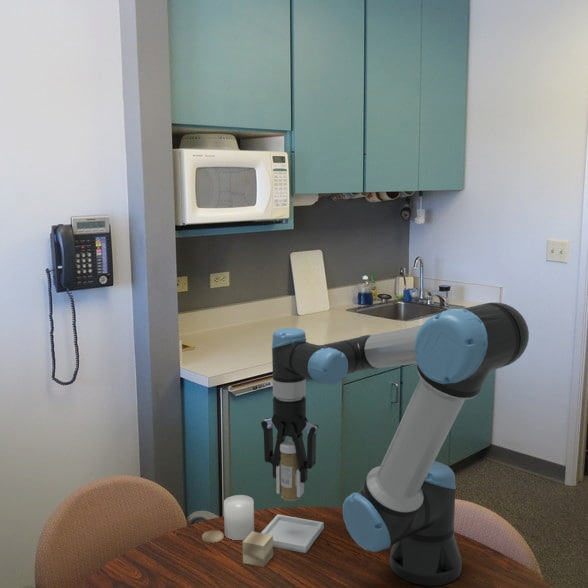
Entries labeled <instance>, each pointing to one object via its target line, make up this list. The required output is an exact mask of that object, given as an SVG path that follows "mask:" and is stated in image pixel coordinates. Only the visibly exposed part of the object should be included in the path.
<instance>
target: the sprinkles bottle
mask: <svg viewBox="0 0 588 588" xmlns="http://www.w3.org/2000/svg"><path fill="white" fill-rule="evenodd" d="M280 451H281V452H280V453H281V461H280V463H281V493H280V497H281V498H280V499H282V500H283V501H288V502H293V501H297V500H299V499H300V497H297V474H296V470H297V469H298V468H299V463H298V458H297V454H296V449H295V445H294V442H293V440H292V439H285V441H283V442H282V443H281V444H280Z"/></svg>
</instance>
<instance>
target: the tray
mask: <svg viewBox="0 0 588 588" xmlns="http://www.w3.org/2000/svg"><path fill="white" fill-rule="evenodd" d="M324 523H325V522H322V521H318V520H313V519H308V518H307V519H305V518H300V517H295V516H289V515H284V514H278V513H277V514H276V516H274V518H273V519H272V520H270V522H269V524H267V525H266V526H265V528H263V530H262V531H261V532H260V533H264V534H269V535H273V548H277V549H283V550H287V551H292V552H296V553H298V552H299V553H301V554H302V553H304V554H307V553H308V552H309V550H310V548H311V547H312V546H313V544H314V543H315V542H316V540H317V539H318V537H319V536H320V535H321V533H322V532H323V530H324V526H325V525H324Z"/></svg>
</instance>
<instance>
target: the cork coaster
mask: <svg viewBox="0 0 588 588" xmlns="http://www.w3.org/2000/svg"><path fill="white" fill-rule="evenodd" d="M224 536H225V534H224V532H222V531H220V530H216V529H215V530H208V531H206V532H203V534H202V535H201V539H202V541H203V542H204V543H208V544H215V542H216V543H218V542H221V541H222V540H224Z"/></svg>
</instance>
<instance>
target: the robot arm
mask: <svg viewBox="0 0 588 588" xmlns="http://www.w3.org/2000/svg"><path fill="white" fill-rule="evenodd" d="M306 336H307V335H306V332H305V331H304V330H303V329H301V328H297V327H295V328H293V327H286V328H279V329H277V330H275V331H274V332H273V334H272V342H271V343H272V344H271V345H272V346H271V359H272V360H271V361H272V362H271V363H272V364H271V365H272V366H271V367H272V396H273V398H272V413H273V414H272V417H271V418H268V417H267V418H265V419H263V420H262V421H261V423H260V425H261V428H262V431H263V448H264V449H263V450H264V461H265V462H266V463H269V464H271V467H272V478H273V479H275V480H276V485H275V486H276V490H275V491H276V492H275V493H276V494H278V495H281V453H280V452H281V451H280V444H281V443H282V442H283V441H285V440H286V437H290V438H291V440H293V442H294V445H295V449H296V454H297V458H298V463H299V468H298V469H297V470H296V474H297V497H299V498H301V497H302V495H303V494H304V493H305V483H306V482H308V481H307V480H308V479H309V478H308V470H311V469H312V468H313V467H314V466H315V465H316V461H317V459H316V455H317V453H316V451H317V450H316V449H317V448H316V447H317V433H318V431H319V425H318V424H312V423H310V422H309V420H308V419H307V415H306V414H307V398H306V394H307V392H306V391H307V390H306V388H307V387H306V386H307V380H306V379H309V380H311V381H314V382H316V383H318V384H319V383H320V384H323V385H329V386H333V385H334V386H335V385H338V384H339V383H340V382H341V381H342V380H344V379H345V377H346V376H347V375H350V374H355V373H358V372H362V371H363V372H364V371H368V370H376V369H377V370H378V369H383V368H391V367H392V368H393V367H399V366H400V367H401V366H409V365H416V372H417V374H418V376H419V380H418V382H417V385H416V387H415V388H414V391H413V393H412V395H411V398H410V400H409V402H408V405H407V407H406V409H405V411H404V413H403V416H402V418H401V420H400V422H399V424H398V426H397V429H396V431H395V433H394V435H393V437H392V440H391V441H390V444H389V446H388V449H387V450H386V453H385V455H384V457H383V460H382V462H381V463H380V465H379V466H376V467H374V468H372V469H370V470H369V472H368V474H367V475H366V478H365V480H364V482H363V485H362V487H361V488H360V489H359V491H357V492H352V493H350V495H348V496H347V497H346V498H345V499H344V501H343V504H342V517H343V522H344V523H345V524H344V525H345V527H346V530H347V532H348V534H349V535H350V537H351V538H352V540H354V542H355V543H356V544H357V546H359V547H360V548H362V549H363V550H365V551H367V552H372V553H377V552H380V551H383V550H387V549H389V548H390V547H391V546H392V547H391V549H390V554H389V567H390V569H391V571H392V572H393V573H394V574H395V575H396V576H398V577H399V578H400V579H402V580H404V581H406V582H409V583H412V584H415V585H421V586H428V587H429V586H431V587H433V586H435V587H437V586H443V585H448V584H450V583H452V582H454V581H455V580H457V579H458V578H459V577H460V575H461V574H462V567H463V565H462V561H463V560H462V556H461V553H460V551H459V547H458V543H457V540H456V537H455V513H456V511H455V510H456V507H455V506H456V505H455V504H456V489H457V486H456V475H455V473H454V471H453V469H452V468H451V467H450V466H448V465H447V464H444V463H442V462H440V461H439V462H438V461H436V459H437V457H438V454H439V453H440V450H441V449H442V446H443V445H444V443H445V441H446V439H447V437H448V435H449V433H450V431H451V429H452V427H453V425H454V423H455V421H456V419H457V417H458V415H459V413H460V411H461V408H462V407H463V405H464V403H465V401H466V400H471V399H474V398H476V397H477V396H478V394H480V391H481V389H482V387H483V386H484V384H485V382H486V379H487V378H488V375H490V373H491V372H492V371H494V370H497V369H501V368H504V367H506V366H510V365H511V364H513V363H515V362H516V361H517V360H519V358H521V357H522V355H523V354H524V353H525V350H527V347H528V344H529V338H530V332H529V327H528V324H527V321H526V320H525V318H524V316H523V315H522V314H521V313H520V311H518V310H517V309H516V308H515V307H513V306H511V305H508V304H506V303H503V302H487V303H482V304H477V305H473V306H469V307H464V308H450V309H447V310H444V311H441V312H440V313H436V314H435V315H432V316H431V317H429V318H428V319H426V320H425V321H424V322H423V323H422V325H420V326H414V327H408V328H402V329H396V330H392V331H386V332H381V333H380V332H378V333H375V334H366V335H361V336H358V337H354V338H349V339H346V340H340V341H334V342H329V343H325V344H314V343H310V342H309V341H307V337H306ZM273 427H275V428H276V430H277V433H276V442H275V447H274V434H273V433H274V430H273V429H274V428H273ZM304 429H306V433H307V440H306V441H307V442H306V445H307V446H306V447H305V443H304V438H303V437H304V434H303V431H304ZM306 449H307V450H306Z"/></svg>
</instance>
